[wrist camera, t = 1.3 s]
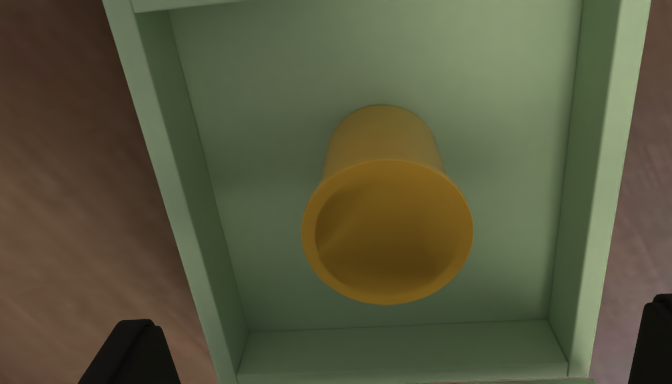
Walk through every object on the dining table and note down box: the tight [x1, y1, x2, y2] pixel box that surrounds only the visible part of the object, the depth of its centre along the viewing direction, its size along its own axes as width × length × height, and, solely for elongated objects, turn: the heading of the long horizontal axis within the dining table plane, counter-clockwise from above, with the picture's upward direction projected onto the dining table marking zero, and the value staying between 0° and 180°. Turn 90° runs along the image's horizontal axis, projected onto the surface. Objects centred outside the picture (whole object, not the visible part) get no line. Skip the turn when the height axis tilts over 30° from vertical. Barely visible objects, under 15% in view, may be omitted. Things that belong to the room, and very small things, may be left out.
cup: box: [301, 105, 474, 305], centre depth 16 cm, size 5×5×5 cm
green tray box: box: [102, 0, 651, 384], centre depth 18 cm, size 16×15×3 cm
